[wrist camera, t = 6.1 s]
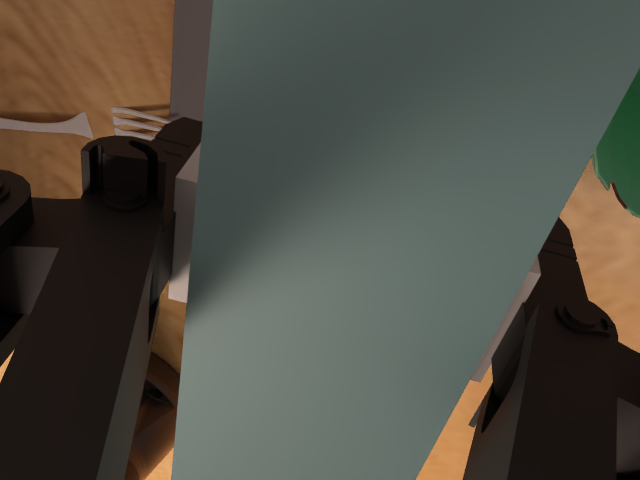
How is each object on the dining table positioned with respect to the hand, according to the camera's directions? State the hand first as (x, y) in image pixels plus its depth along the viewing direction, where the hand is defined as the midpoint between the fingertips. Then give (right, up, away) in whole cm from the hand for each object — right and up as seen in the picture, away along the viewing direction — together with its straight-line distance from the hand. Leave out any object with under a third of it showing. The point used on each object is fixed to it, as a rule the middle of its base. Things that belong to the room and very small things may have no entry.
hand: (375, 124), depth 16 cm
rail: (0, -1, -1) cm, 2 cm away
